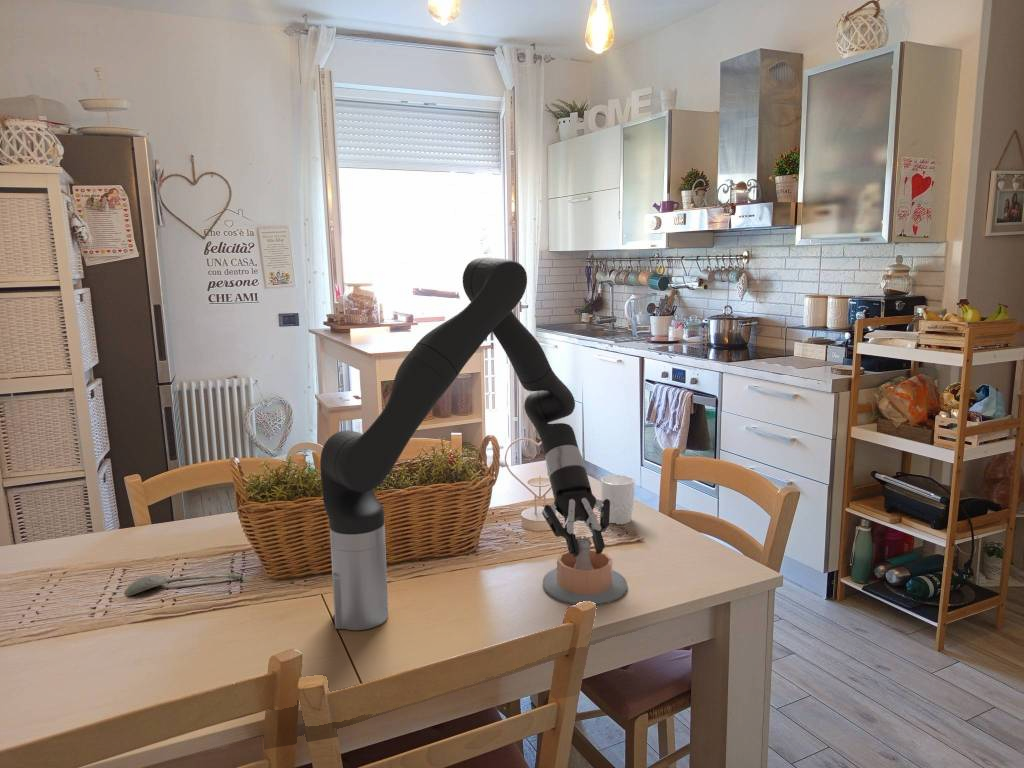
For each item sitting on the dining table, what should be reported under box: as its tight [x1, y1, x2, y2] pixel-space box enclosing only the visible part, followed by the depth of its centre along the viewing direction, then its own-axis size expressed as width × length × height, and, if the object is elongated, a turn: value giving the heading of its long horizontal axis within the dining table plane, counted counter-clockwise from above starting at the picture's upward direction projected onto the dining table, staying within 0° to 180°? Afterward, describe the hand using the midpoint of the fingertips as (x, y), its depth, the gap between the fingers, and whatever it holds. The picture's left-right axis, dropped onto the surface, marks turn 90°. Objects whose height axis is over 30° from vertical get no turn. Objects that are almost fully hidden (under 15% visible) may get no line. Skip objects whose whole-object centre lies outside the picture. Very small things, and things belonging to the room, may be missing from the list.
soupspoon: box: [124, 572, 246, 598], centre depth 141 cm, size 22×3×7 cm
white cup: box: [600, 474, 635, 525], centre depth 173 cm, size 8×8×10 cm
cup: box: [542, 548, 628, 606], centre depth 138 cm, size 16×16×5 cm
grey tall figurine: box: [574, 536, 593, 570], centre depth 138 cm, size 4×4×8 cm
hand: (588, 553), depth 136 cm, fingers open, 4 cm apart
